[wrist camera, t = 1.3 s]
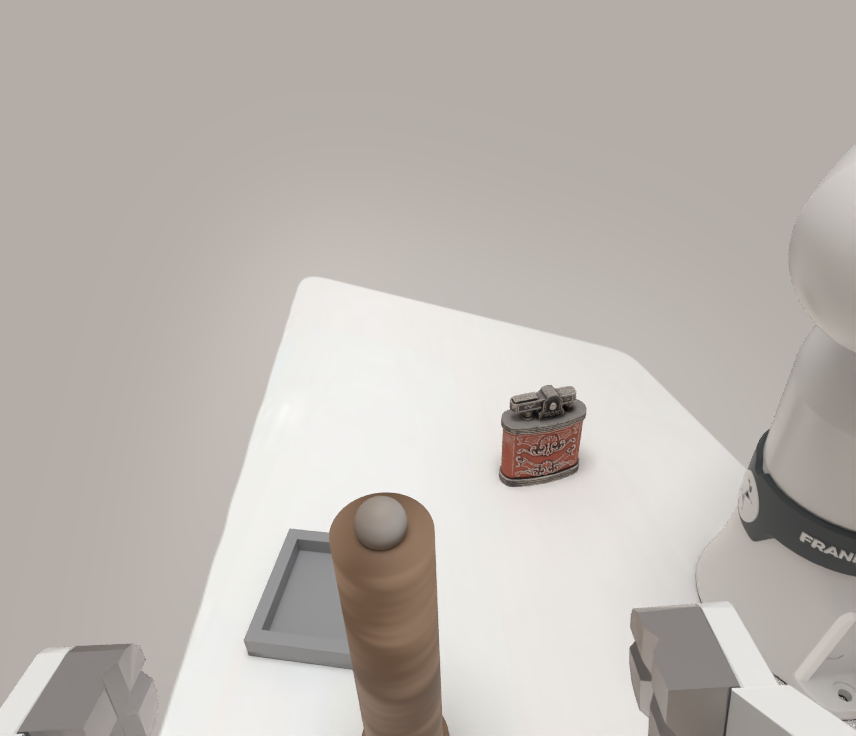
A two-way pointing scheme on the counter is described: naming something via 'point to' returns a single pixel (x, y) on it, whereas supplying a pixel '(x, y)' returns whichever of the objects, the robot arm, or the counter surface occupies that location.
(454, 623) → the counter surface
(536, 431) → the lighter
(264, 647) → the tray
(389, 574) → the pepper mill
